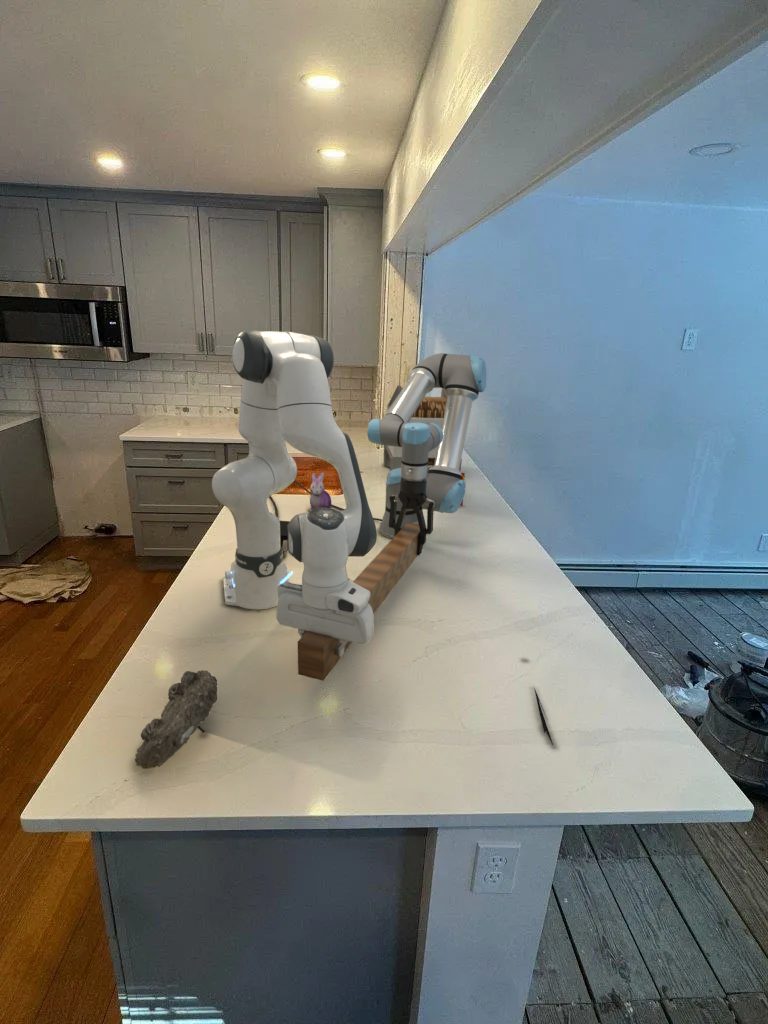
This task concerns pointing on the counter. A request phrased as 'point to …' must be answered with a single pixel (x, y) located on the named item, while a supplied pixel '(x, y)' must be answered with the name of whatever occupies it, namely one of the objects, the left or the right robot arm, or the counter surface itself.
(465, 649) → the counter surface
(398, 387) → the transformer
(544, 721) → the feather
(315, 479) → the figurine
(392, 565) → the post
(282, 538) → the figurine character
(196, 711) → the fossil
